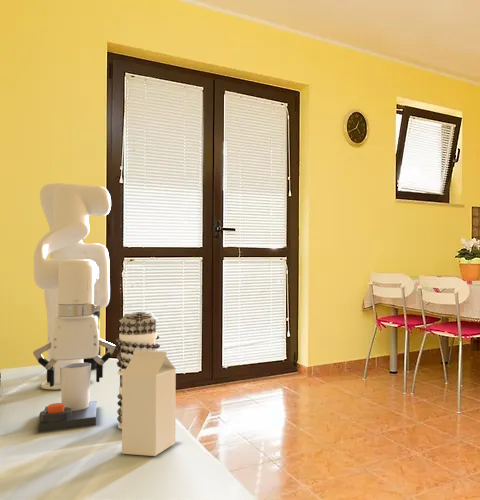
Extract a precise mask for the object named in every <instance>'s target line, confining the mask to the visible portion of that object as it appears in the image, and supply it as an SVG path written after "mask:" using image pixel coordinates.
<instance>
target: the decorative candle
mask: <svg viewBox="0 0 480 500" xmlns="http://www.w3.org/2000/svg"><path fill="white" fill-rule="evenodd" d="M158 319H159V318H157V317H155V314H153V312H150V311H131V312H126V313H125V314H124V315H123V317H121V319H119V327H120V328H119V331H120V332H119V333H118V336H119V337H117V338H116V339H115V342H116V344H117V345H115V349H116V351H118V354H117V355H116V359H117V360H118V361H117V362H116V366H117V367H118V368H119V369H118V371H117V374H118V375H119V386H118V394H117V396H116V397H117V399H118V402H116V404H117V406H118V407H119V408H118V409H117V411H116V413H117V415H118V416H117V418H116V420H117V422H118V423H117V428H118V429H120V430H122V374H123V373H124V371H125V369H126V368H127V366H128V364H129V362H130V361H131V359H132V357H133V351H157V350H158V349H159V348H161V345H160V344H159V343H157V340H159V339H160V336H159V335H158V331H157V320H158Z"/></svg>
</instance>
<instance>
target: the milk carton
mask: <svg viewBox="0 0 480 500" xmlns="http://www.w3.org/2000/svg"><path fill="white" fill-rule="evenodd" d="M176 368H177V367H175V365H173V363H172V362H171V361H170V359H169V358H168V357H167V351H164V350H163V351H161V350H156V351H133V357H132V359H131V361H130V362H129V364H128V366H127V368H126V369H125V371H124V373H123V374H122V429H121V454H123V455H136V456H150V457H157V455H159V454H161V453H163V452H164V451H165V450H167V449H169V448H170V447H172V446H173V445H175V444H176V441H177V438H176V434H177V433H176V431H177V429H176V426H177V423H176V421H177V419H176V418H177V417H176V416H177V415H176V412H177V410H176V405H177V404H176V402H177V401H176V400H177V399H176V398H177V395H176V394H177V393H176V392H177V391H176V390H177V389H176V387H177V385H176V384H177V383H176V381H177V379H176V377H177V375H176V374H177V371H176Z"/></svg>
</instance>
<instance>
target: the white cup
mask: <svg viewBox="0 0 480 500" xmlns="http://www.w3.org/2000/svg"><path fill="white" fill-rule="evenodd" d="M91 375H92V370H91V363H72V364H66V365H62V366H60V381H61V389H60V400H61V401H60V403H64V407H68V408H72V411H77V410H82V409H85V408H88V407H89V402H90V396H91V395H90V394H91V393H90V392H91V377H92V376H91Z"/></svg>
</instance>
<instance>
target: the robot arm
mask: <svg viewBox="0 0 480 500" xmlns="http://www.w3.org/2000/svg"><path fill="white" fill-rule="evenodd" d="M39 198H40V199H39V200H40V205H41V209H42V212H43V214H44V216H45V219H46V222H47V224H48V227H49V231H47V233H45V234H44V235H43V236H42V237H41V239H40V240H39V241H38V242H37V244H36V246H35V249H34V252H33V279H34V283H35V285H36V286H37V288H39V289H41V290H44V291H43V296H44V304H45V309H46V320H47V321H46V323H47V324H46V325H47V331H46V332H47V333H46V334H47V336H46V337H47V338H46V339H47V343H46V344H44V345H42V346H40V347H38V348H37V349H34V350H33V352H32V354H33V356H34V357H35V359H36V360H37V362H38V364H39V365H41V366H42V367H43V368H45V370H46V380H44V381H42V382H41V383H40V388H41V389H44V390H50V391H51V390H52V391H53V390H61V381H60V366H62V365H66V364H72V363H84V359H87V358H93V359H94V360H95V361H96V362H97V364H96V369H95V381H96V383H100V379H102V378H103V376H104V370H103V369H104V364H105V363H106V362H107V361H108V360H110V358H112V357H111V356H112V355H113V354H114V351H115V349H116V345H115V344H113V343H111V342H108V341H106V340H104V339H102V338H100V339H99V326H98V319H97V316H93V313H95V312H97V311H100V312H101V310H103V309H105V308H107V307H108V305H109V303H110V299H111V283H110V282H111V281H110V280H111V279H110V256H109V251H108V248H107V247H106V246H105V245H104V244H101V243H89V242H87V243H84V242H83V241H84V240H85V239H86V238H87V237H88V236H89V233H90V221H89V217H91V216H92V217H106V216H107V215H109V213H110V211H111V207H112V199H111V194H110V193H109V190H108V188H106V187H105V186H103V185H102V186H101V185H92V184H91V185H90V184H89V185H88V184H77V183H64V182H63V183H60V182H59V183H58V182H57V183H55V182H54V183H47V184H45V185H43V186H42V187H41V189H40V191H39ZM48 256H49V258H47V257H48ZM99 345H100V347H103V348H106V349H107V350H106V353H105V354H103V355H102V356H100V355H101V354H100V355H99ZM45 352H46V356H47V359H46V358H45V357H44V355H43V353H45Z"/></svg>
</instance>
